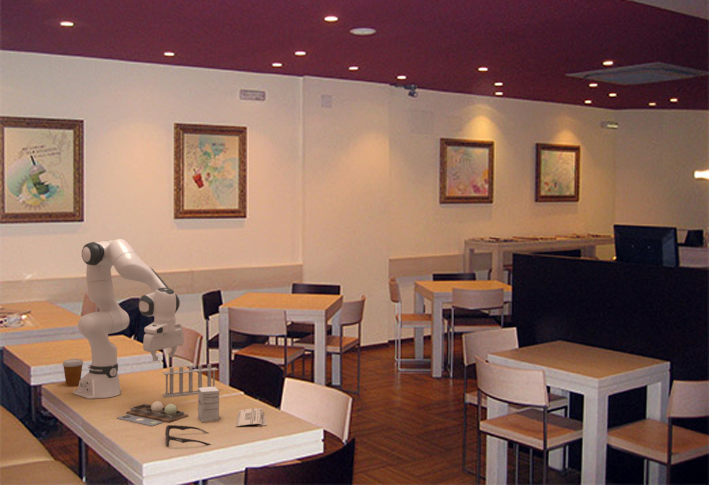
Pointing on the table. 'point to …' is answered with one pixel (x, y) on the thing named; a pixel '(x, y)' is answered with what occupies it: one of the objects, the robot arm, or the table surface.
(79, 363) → the disposable coffee cup
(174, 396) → the test tube rack
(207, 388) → the supplement box
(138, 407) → the socket board
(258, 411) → the newspaper
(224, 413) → the table surface
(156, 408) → the cream ball
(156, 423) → the pattern card
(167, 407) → the sage ball
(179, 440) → the sunglasses
